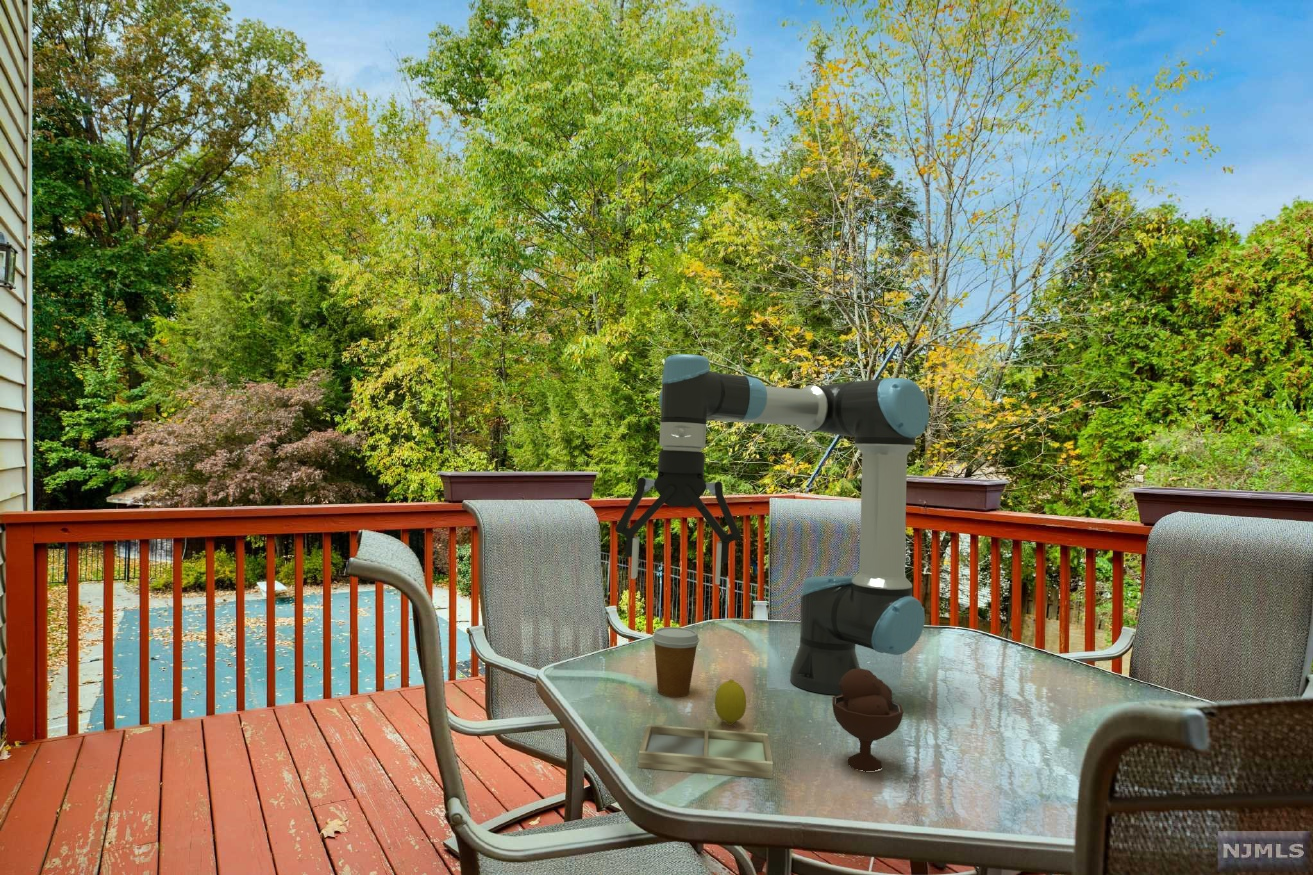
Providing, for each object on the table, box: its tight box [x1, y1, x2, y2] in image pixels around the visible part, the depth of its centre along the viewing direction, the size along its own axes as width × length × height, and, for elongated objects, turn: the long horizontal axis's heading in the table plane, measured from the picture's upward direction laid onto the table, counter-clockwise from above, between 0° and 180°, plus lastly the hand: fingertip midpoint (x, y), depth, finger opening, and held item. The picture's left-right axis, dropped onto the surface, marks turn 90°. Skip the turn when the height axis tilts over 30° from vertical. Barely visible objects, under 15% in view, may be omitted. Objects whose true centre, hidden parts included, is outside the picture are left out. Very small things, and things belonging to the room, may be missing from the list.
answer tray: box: [637, 724, 774, 779], centre depth 115 cm, size 20×12×2 cm, turn 85°
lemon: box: [714, 678, 747, 726], centre depth 130 cm, size 6×6×8 cm
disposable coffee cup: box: [651, 626, 700, 698], centre depth 147 cm, size 10×10×12 cm
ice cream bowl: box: [831, 667, 904, 773], centre depth 115 cm, size 11×11×15 cm
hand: (675, 580), depth 119 cm, fingers open, 13 cm apart
